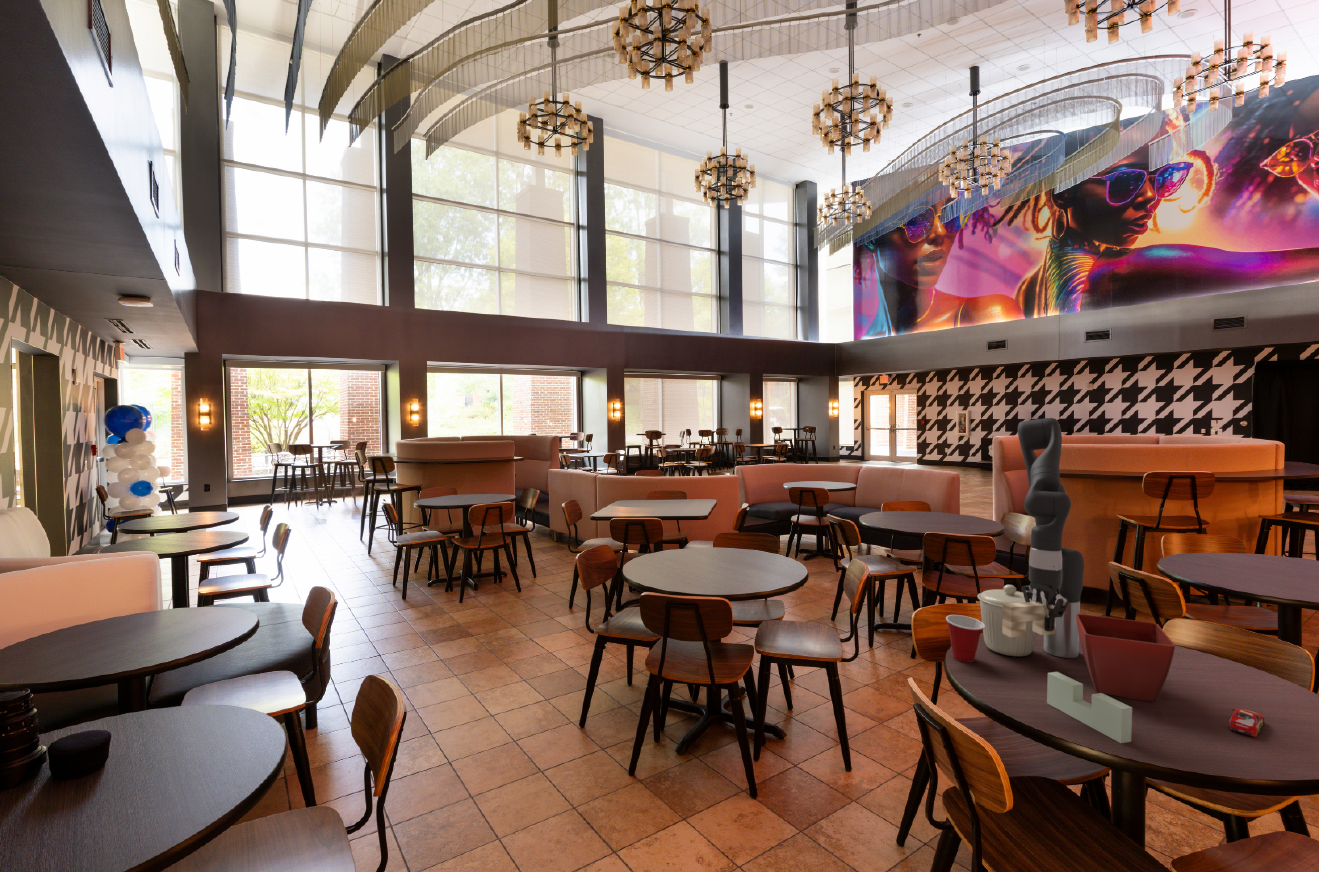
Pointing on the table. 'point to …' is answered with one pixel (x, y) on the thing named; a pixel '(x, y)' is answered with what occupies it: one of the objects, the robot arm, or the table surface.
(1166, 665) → the plant pot
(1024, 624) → the slotted plate
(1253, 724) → the race car
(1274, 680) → the table surface
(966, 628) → the plastic cup
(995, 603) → the canister
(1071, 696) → the notched board
